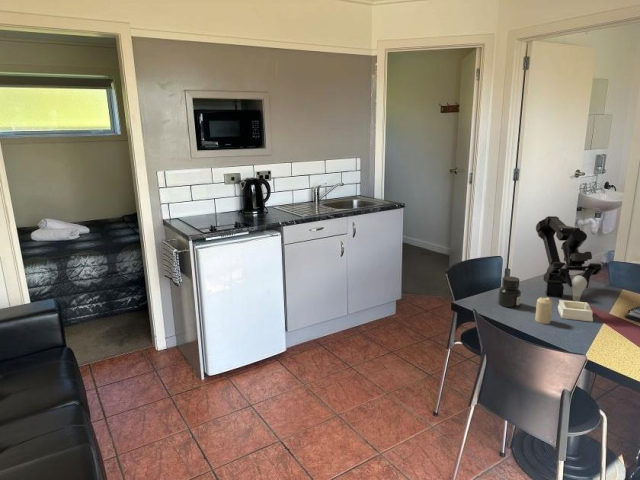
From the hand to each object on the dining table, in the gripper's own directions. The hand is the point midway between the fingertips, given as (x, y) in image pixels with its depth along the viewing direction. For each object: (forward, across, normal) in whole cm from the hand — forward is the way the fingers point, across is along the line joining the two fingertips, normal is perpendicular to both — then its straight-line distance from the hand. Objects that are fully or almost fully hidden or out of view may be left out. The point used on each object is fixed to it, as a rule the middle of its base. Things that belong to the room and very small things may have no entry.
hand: (579, 287), depth 180 cm
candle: (+14, -15, +4) cm, 21 cm away
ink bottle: (+2, -24, +16) cm, 29 cm away
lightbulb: (+4, 0, +6) cm, 7 cm away
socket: (+8, 0, +10) cm, 13 cm away
